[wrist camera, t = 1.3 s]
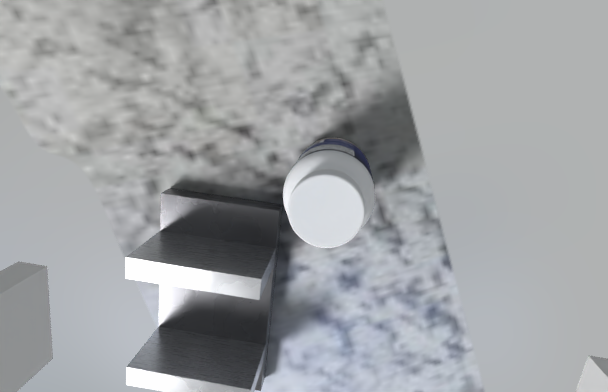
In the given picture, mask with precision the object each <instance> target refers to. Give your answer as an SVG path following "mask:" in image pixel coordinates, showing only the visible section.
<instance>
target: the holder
mask: <svg viewBox="0 0 608 392" xmlns="http://www.w3.org/2000/svg"><path fill="white" fill-rule="evenodd" d="M282 208H283V205H280V204H273V203H267V202H260V201H253V200H246V199H239V198H232V197H225V196H218V195H211V194H205V193H198V192H191V191H184V190H177V189H168V190H166V191H164V192H163V193H161V225H160V231H159V232H158V233H157V234H156V235H154V236H153V237H152V238H150V239H149V240H148V241H146V242H145V243H144V244H142V245H141V246H140V247H139V248H137V249H136V250H135V251H133V252H132V253H131V254H129V255H128V256H127V257H126V278H128V279H134V280H140V281H146V282H152V283H158V284H159V327H158V328H157V329H156V331H155V332H154V333H153V334H152V336H151V337H150V338H149V339H148V341H147V342H146V343H145V344H144V346H143V347H142V348H141V349H140V351H139V352H138V353H137V355H136V356H135V357H134V358H133V359H132V361H131V362H130V363H129V364H128V366H127V368H126V376H127V377H126V383H127V385H131V386H136V387H141V388H147V389H152V390H158V391H163V392H254V390H259V391H261V388H262V385H263V382H264V378H265V368H266V359H267V349H268V340H269V331H270V321H271V312H272V302H273V293H274V283H275V274H276V265H277V255H278V246H279V236H280V227H281V217H282Z"/></svg>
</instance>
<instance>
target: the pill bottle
mask: <svg viewBox="0 0 608 392" xmlns="http://www.w3.org/2000/svg"><path fill="white" fill-rule="evenodd" d="M283 202H284V207H285V210H286V213H287V215H288V218H289V222H290V224H291V226H292V228H293V230H294V231H295V233H296V234H297V235H298V236H299V237H300V238H301V239H302V240H304V241H305V242H307V243H309V244H311V245H313V246H317V247H321V248H333V247H338V246H341V245H343V244H345V243H347V242H349V241H350V240H351V239H353V238H354V237H355V236H356V235H357V233H358V232H359V231H360V230H361V229H362V228H363V227H364V226H365V224H366V223H367V222H368V220H369V219H370V217H371V215H372V212H373V209H374V205H375V187H374V182H373V178H372V174H371V170H370V166H369V163H368V161H367V158H366V157H365V155H364V153H363V152H362V151H361V150H360V149H359V148H358V147H357V146H356V145H355V144H353V143H352V142H350V141H347V140H345V139H341V138H326V139H322V140H319V141H317V142H315V143H313V144H312V145H310V146H309V147H308V148H307V149H306V150H305V151H304V152H303V153H302V155H301V156H300V157H299V159H298V160H297V162H296V163H295V165H294V166H293V167H292V169H291V170H290V172H289V174H288V176H287V178H286V181H285V184H284V189H283Z"/></svg>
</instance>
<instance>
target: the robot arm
mask: <svg viewBox="0 0 608 392" xmlns="http://www.w3.org/2000/svg"><path fill="white" fill-rule="evenodd" d="M47 275H48V274H47V266H42V265H36V264H30V263H24V262H17V263H15V264H13V265H11V266H9V267H8V268H6V269H4V270H2V271H0V392H17V391H18V390H19V389H20V388H21V387H22V386H23V385H25V384H26V382H28V381H29V380H30V379H31V378H32V377H33V376H34V375H36V374H37V373H38V372H39V371H40V370H41V369H42V368H43V367H44V366H45V365H46V364H48V362H50V361H51V360H52V359H53V353H52V337H51V323H50V322H51V321H50V306H49V290H48V276H47ZM576 392H608V359H606V358H600V357H593V356H588V359H587V361H586V364H585V367H584V369H583V372H582V375H581V378H580V381H579V383H578V386H577V389H576Z"/></svg>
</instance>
